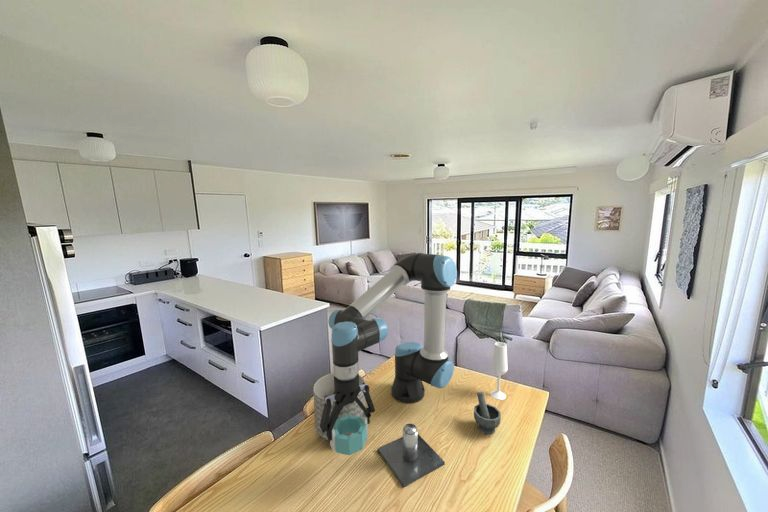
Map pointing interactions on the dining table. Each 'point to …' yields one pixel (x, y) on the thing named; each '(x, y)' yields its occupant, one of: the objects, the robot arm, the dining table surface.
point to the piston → (410, 456)
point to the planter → (327, 388)
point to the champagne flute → (499, 367)
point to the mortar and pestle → (486, 415)
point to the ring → (354, 441)
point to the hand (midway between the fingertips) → (349, 440)
